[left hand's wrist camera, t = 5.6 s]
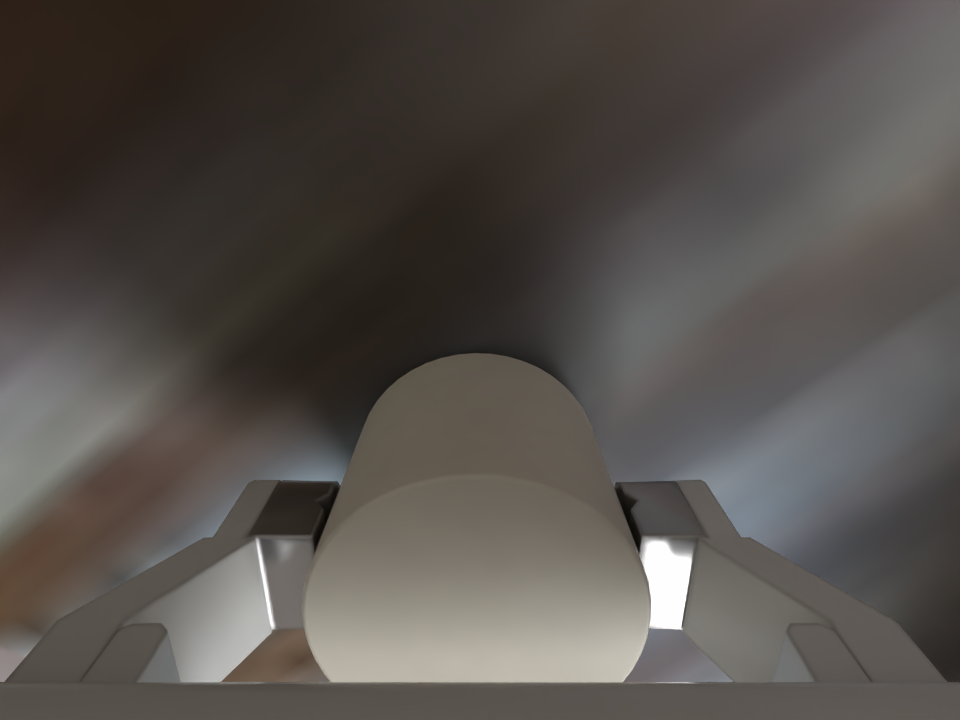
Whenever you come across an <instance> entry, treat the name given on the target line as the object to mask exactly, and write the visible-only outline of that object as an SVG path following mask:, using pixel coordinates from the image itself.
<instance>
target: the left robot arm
mask: <svg viewBox="0 0 960 720" xmlns="http://www.w3.org/2000/svg"><path fill="white" fill-rule="evenodd" d="M339 489H340V485H339V483H338V481H291V480H283V481H280V480H254V481H252V482H249V484H248V485H247V486H246V488H245V489H244V491H243V492H242V494H241V495H240V497H239V498H238V500H237V501H236V503H235V505H234V506H233V508H232V509H231V511H230V512H229V514H228V515H227V517H226V518H225V520H224V521H223V523H222V524H221V526H220V527H219V529H218V530H217V532H216V534H215V535H214V537H213V538H203V539H201V540H199V541H197V542H195V543H194V544H192V545H190V546H188V547H187V548H185V549H183V550H181V551H180V552H178V553H176V554H174V555H172V556H171V557H169V558H167V559H165V560H164V561H162V562H160V563H158V564H157V565H155V566H153V567H151V568H149V569H148V570H146V571H144V572H142V573H141V574H139V575H137V576H135V577H133V578H132V579H130V580H128V581H126V582H125V583H123V584H121V585H119V586H118V587H116V588H114V589H112V590H110V591H109V592H107V593H105V594H103V595H102V596H100V597H98V598H96V599H95V600H93V601H91V602H89V603H87V604H86V605H84V606H82V607H80V608H79V609H77V610H75V611H73V612H72V613H70V614H68V615H66V616H64V617H63V618H61V619H59V620H57V621H56V623H55V624H54V625H53V626H52V627H51V628H50V629H49V631H48V632H47V633H46V634H45V635H44V636H43V638H42V639H41V640H40V641H39V642H38V643H37V645H36V646H35V647H34V648H33V649H32V650H31V652H30V653H29V654H28V655H27V656H26V657H25V659H24V660H23V661H22V662H21V663H20V664H19V666H18V667H17V668H16V669H15V670H14V671H13V673H12V674H11V675H10V676H9V677H8V678H7V679H6V681H5V682H0V720H960V682H947V681H946V680H945V679H944V677H943V676H942V675H941V674H940V673H939V671H938V670H937V669H936V668H935V667H934V665H933V664H932V663H931V662H930V661H929V659H928V658H927V657H926V656H925V655H924V654H923V652H922V651H921V650H920V649H919V648H918V646H917V645H916V644H915V643H914V642H913V640H912V639H911V638H910V637H909V636H908V634H907V633H906V632H905V631H904V630H903V629H902V627H901V626H900V625H899V624H898V623H897V622H896V621H895V620H893V619H891V618H890V617H888V616H886V615H884V614H883V613H881V612H879V611H877V610H876V609H874V608H872V607H870V606H869V605H867V604H865V603H863V602H862V601H860V600H858V599H856V598H855V597H853V596H851V595H849V594H848V593H846V592H844V591H842V590H841V589H839V588H837V587H835V586H834V585H832V584H830V583H828V582H827V581H825V580H823V579H821V578H820V577H818V576H816V575H814V574H813V573H811V572H809V571H807V570H806V569H804V568H802V567H800V566H799V565H797V564H795V563H793V562H792V561H790V560H788V559H786V558H785V557H783V556H781V555H779V554H778V553H776V552H774V551H772V550H771V549H769V548H767V547H765V546H764V545H762V544H760V543H758V542H757V541H755V540H753V539H751V538H741V537H740V535H739V533H738V532H737V530H736V529H735V527H734V526H733V524H732V523H731V521H730V520H729V518H728V516H727V515H726V513H725V512H724V510H723V509H722V507H721V506H720V504H719V503H718V501H717V500H716V498H715V496H714V495H713V493H712V492H711V490H710V489H709V487H708V486H707V484H706V483H705V482H704V481H702V480H680V481H655V482H616V484H615V488H614V489H615V491H616V494H617V497H618V499H619V502H620V505H621V507H622V510H623V513H624V515H625V518H626V521H627V523H628V526H629V529H630V531H631V534H632V537H633V540H634V542H635V545H636V548H637V550H638V553H639V556H640V558H641V561H642V564H643V566H644V570H645V573H646V576H647V579H648V582H649V587H650V594H651V620H650V625H649V628H652V629H683V631H682V632H683V633H684V634H685V635H686V636H687V637H688V638H689V639H690V640H691V641H692V642H693V643H694V644H695V645H696V646H697V647H699V648H700V649H701V650H702V651H703V652H704V653H705V654H706V655H707V656H708V657H709V658H710V659H711V660H712V661H713V662H714V663H715V664H716V665H717V666H718V667H719V668H720V669H721V670H722V671H723V672H724V673H725V674H726V675H727V676H728V677H729V678H730V679H731V680H732V681H733V682H221V681H222V680H223V679H224V678H225V677H226V676H227V675H228V674H229V673H230V672H231V671H232V670H233V669H234V668H235V667H236V666H237V665H238V664H239V663H241V662H242V661H243V660H244V659H245V658H246V657H247V656H248V655H249V654H250V653H251V652H252V651H253V650H254V649H255V648H256V647H257V646H258V645H259V644H260V643H261V642H262V641H263V640H264V639H265V638H266V637H268V636H269V635H270V634H271V633H272V630H271V629H302V628H304V625H303V614H302V598H303V588H304V584H305V580H306V576H307V573H308V570H309V567H310V564H311V562H312V559H313V557H314V554H315V551H316V549H317V546H318V544H319V541H320V538H321V536H322V533H323V531H324V528H325V525H326V523H327V520H328V518H329V515H330V512H331V510H332V507H333V505H334V502H335V499H336V497H337V494H338V492H339Z"/></svg>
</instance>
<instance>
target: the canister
mask: <svg viewBox="0 0 960 720" xmlns="http://www.w3.org/2000/svg"><path fill="white" fill-rule="evenodd" d="M302 614H303V625H304V629H305V633H306V637H307V641H308V644H309V647H310V649H311V651H312V653H313V656H314V658H315V660H316V662H317V663H318V665H319V666H320V668H321V669H322V671H323V673H324V674H325V676H326V677H327V678H328V679H329V680H330V681H331V682H623V681H624V680H625V678H626V677H627V676H628V674H629V673H630V672H631V671H632V669H633V667H634V666H635V664H636V662H637V660H638V658H639V657H640V655H641V653H642V650H643V647H644V645H645V642H646V639H647V635H648V630H649V625H650V620H651V594H650V587H649V582H648V579H647V576H646V573H645V570H644V566H643V564H642V561H641V558H640V556H639V553H638V550H637V548H636V545H635V542H634V540H633V537H632V534H631V531H630V529H629V526H628V523H627V521H626V518H625V515H624V513H623V510H622V507H621V505H620V502H619V499H618V497H617V494H616V491H615V489H614V486H613V483H612V481H611V478H610V475H609V473H608V470H607V467H606V464H605V462H604V459H603V456H602V454H601V451H600V448H599V446H598V443H597V440H596V438H595V435H594V432H593V430H592V427H591V424H590V422H589V419H588V418H587V416H586V414H585V412H584V410H583V408H582V406H581V405H580V404H579V402H578V401H577V399H576V398H575V397H574V395H573V394H572V393H571V392H570V391H569V390H568V389H567V388H566V387H565V386H564V385H563V384H562V383H560V382H559V381H558V380H557V379H555V378H554V377H553V376H551V375H550V374H548V373H546V372H545V371H543V370H541V369H540V368H538V367H536V366H533V365H531V364H529V363H527V362H524V361H521V360H518V359H514V358H511V357H507V356H501V355H495V354H483V353H471V354H458V355H453V356H448V357H444V358H440V359H437V360H434V361H431V362H428V363H426V364H423V365H421V366H419V367H417V368H415V369H413V370H411V371H410V372H408V373H407V374H405V375H404V376H402V377H401V378H399V379H398V380H397V381H396V382H395V383H393V384H392V385H391V386H390V387H389V388H388V389H387V390H386V391H385V392H384V393H383V394H382V396H381V397H380V398H379V399H378V400H377V402H376V403H375V405H374V407H373V408H372V410H371V411H370V413H369V415H368V417H367V420H366V422H365V424H364V427H363V429H362V432H361V434H360V437H359V440H358V442H357V445H356V447H355V450H354V453H353V455H352V458H351V460H350V463H349V466H348V468H347V471H346V473H345V476H344V479H343V481H342V484H341V486H340V489H339V492H338V494H337V497H336V499H335V502H334V505H333V507H332V510H331V512H330V515H329V518H328V520H327V523H326V525H325V528H324V531H323V533H322V536H321V538H320V541H319V544H318V546H317V549H316V551H315V554H314V557H313V559H312V562H311V564H310V567H309V570H308V573H307V576H306V580H305V584H304V588H303V598H302Z"/></svg>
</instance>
